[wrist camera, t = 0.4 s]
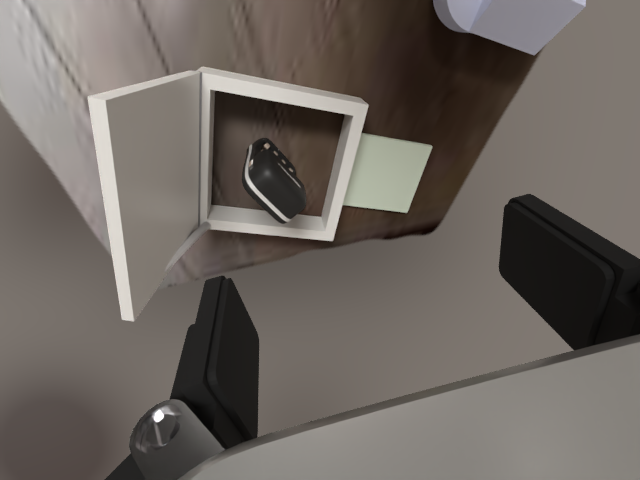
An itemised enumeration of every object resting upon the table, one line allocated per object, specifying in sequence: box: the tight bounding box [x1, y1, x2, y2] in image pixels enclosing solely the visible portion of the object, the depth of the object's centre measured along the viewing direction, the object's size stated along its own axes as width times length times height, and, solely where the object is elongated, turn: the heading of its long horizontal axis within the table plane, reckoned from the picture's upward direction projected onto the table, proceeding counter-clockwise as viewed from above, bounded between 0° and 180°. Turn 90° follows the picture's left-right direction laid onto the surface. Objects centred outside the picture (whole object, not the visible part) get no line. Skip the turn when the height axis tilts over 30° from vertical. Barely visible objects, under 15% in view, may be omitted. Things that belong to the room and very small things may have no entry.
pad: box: [343, 133, 433, 213], centre depth 46 cm, size 10×10×1 cm
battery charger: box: [242, 138, 306, 224], centre depth 38 cm, size 7×4×11 cm, turn 38°
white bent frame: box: [88, 66, 369, 321], centre depth 34 cm, size 18×21×20 cm
